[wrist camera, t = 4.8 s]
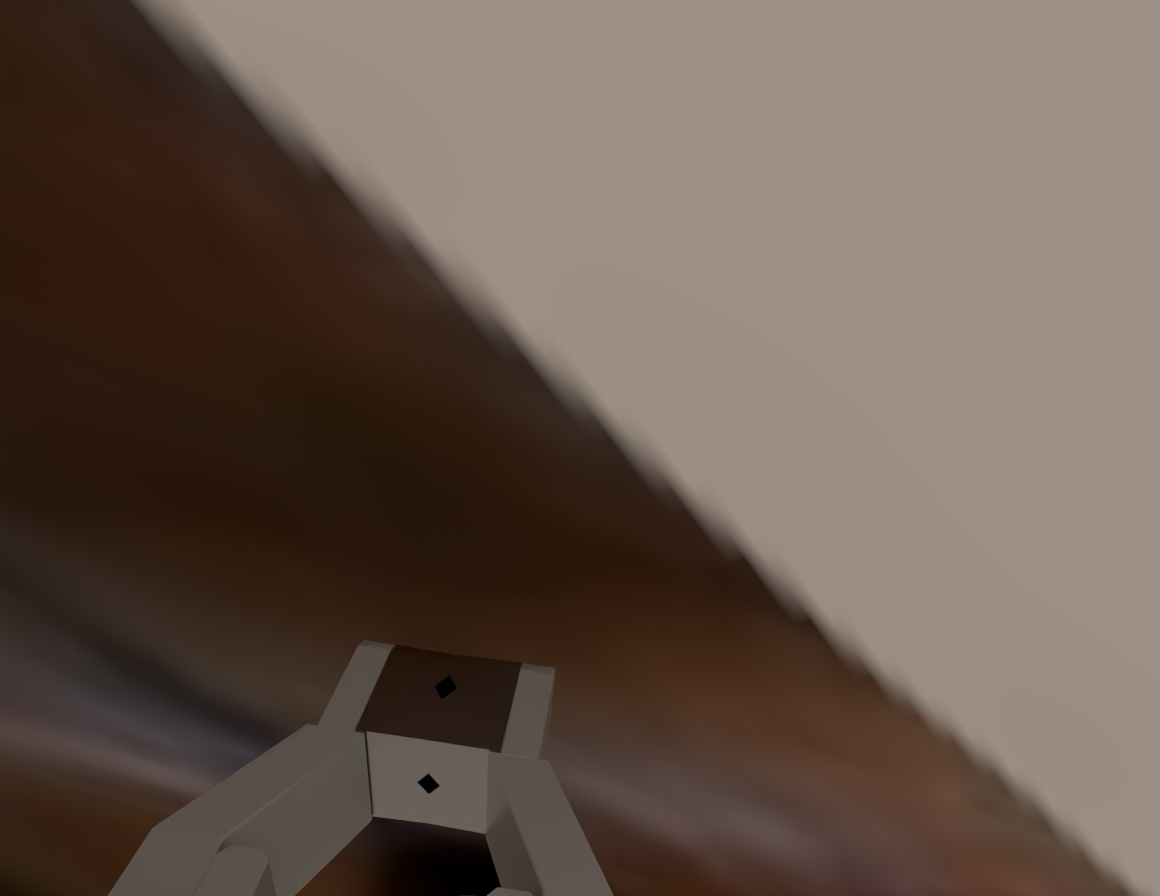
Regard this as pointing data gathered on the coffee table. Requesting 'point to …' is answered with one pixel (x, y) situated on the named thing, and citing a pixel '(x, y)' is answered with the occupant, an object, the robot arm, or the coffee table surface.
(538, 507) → the coffee table surface
